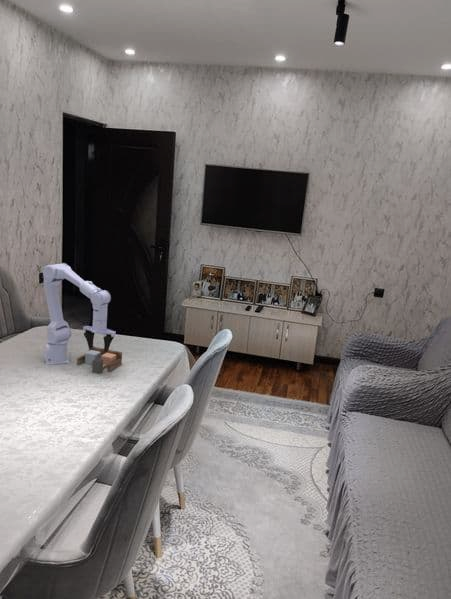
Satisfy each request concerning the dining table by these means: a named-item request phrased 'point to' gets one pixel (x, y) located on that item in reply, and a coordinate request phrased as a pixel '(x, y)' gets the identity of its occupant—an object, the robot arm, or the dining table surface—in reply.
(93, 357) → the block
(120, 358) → the shelf lanes
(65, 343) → the robot arm
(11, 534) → the dining table surface
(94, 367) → the block
